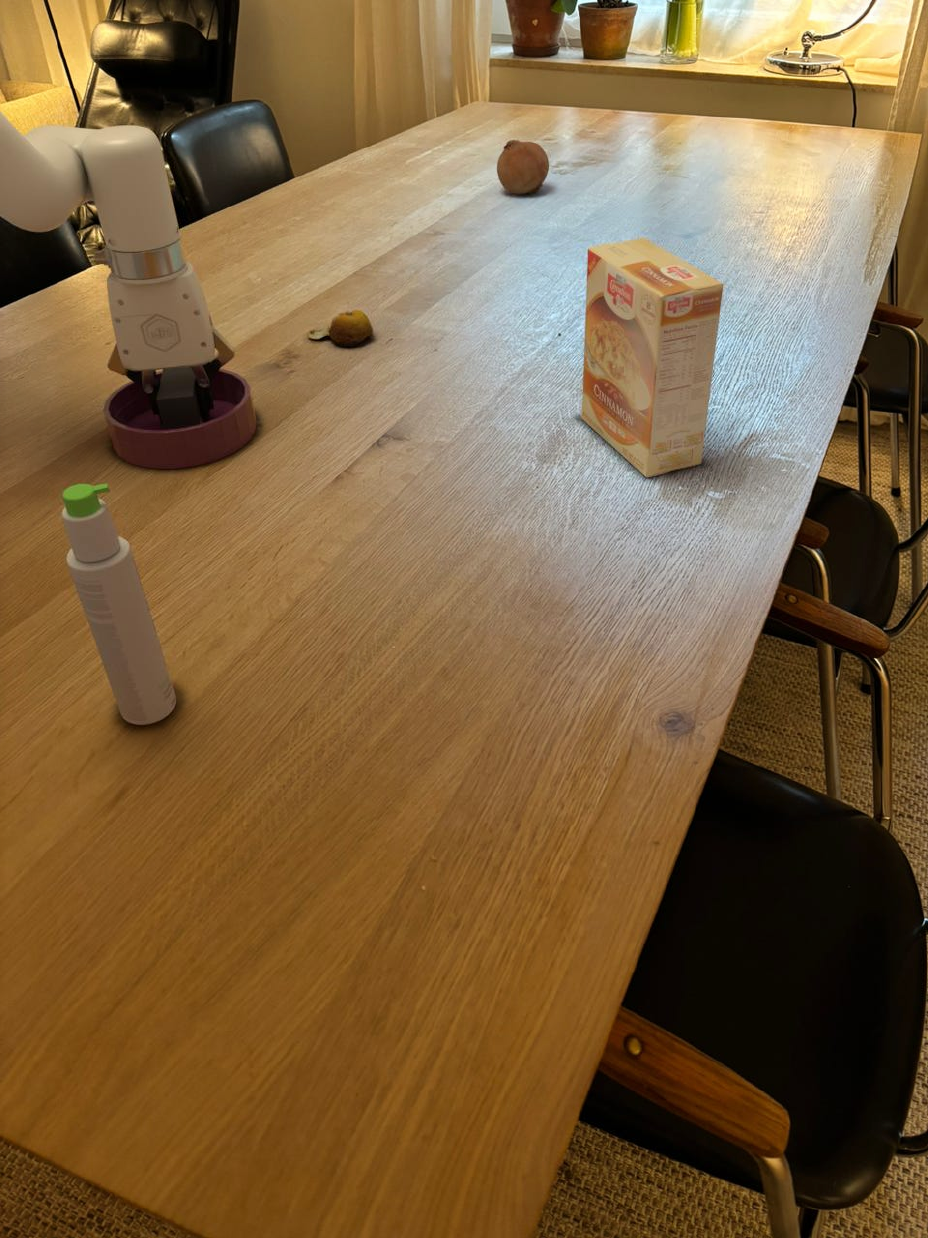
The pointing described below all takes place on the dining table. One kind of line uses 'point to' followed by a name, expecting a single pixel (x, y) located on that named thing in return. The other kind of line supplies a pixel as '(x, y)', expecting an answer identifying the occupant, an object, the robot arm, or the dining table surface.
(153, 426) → the bowl
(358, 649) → the dining table surface
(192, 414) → the eraser
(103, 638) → the bottle
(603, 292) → the coffeecake box
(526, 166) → the onion
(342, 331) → the fruit
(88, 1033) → the dining table surface
